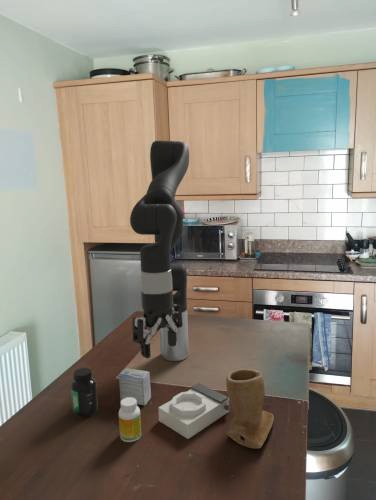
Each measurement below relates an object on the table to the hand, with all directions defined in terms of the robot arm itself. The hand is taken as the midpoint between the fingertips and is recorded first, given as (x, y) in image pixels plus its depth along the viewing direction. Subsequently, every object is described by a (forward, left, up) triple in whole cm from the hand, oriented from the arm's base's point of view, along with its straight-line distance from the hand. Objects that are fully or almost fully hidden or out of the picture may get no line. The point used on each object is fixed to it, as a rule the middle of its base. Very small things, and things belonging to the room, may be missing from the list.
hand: (159, 351), depth 105 cm
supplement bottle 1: (-22, -9, -22) cm, 33 cm away
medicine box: (-16, +4, -22) cm, 28 cm away
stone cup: (+16, +15, -22) cm, 31 cm away
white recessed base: (+2, +10, -22) cm, 24 cm away
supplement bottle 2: (-4, -7, -22) cm, 24 cm away
